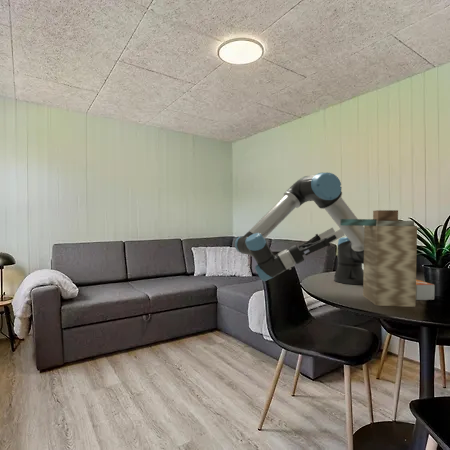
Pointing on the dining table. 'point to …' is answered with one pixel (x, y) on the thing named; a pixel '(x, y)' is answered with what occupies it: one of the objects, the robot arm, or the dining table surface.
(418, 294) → the small box
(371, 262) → the wooden board
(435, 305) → the dining table surface
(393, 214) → the teal and brown block
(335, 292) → the dining table surface
